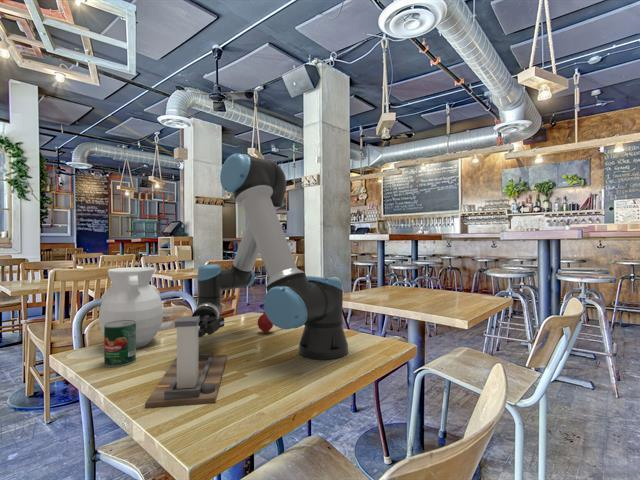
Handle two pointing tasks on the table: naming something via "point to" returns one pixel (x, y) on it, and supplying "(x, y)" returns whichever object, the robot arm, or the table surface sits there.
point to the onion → (264, 323)
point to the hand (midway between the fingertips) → (192, 338)
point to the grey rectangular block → (187, 351)
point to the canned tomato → (119, 343)
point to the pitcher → (133, 302)
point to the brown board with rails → (202, 393)
